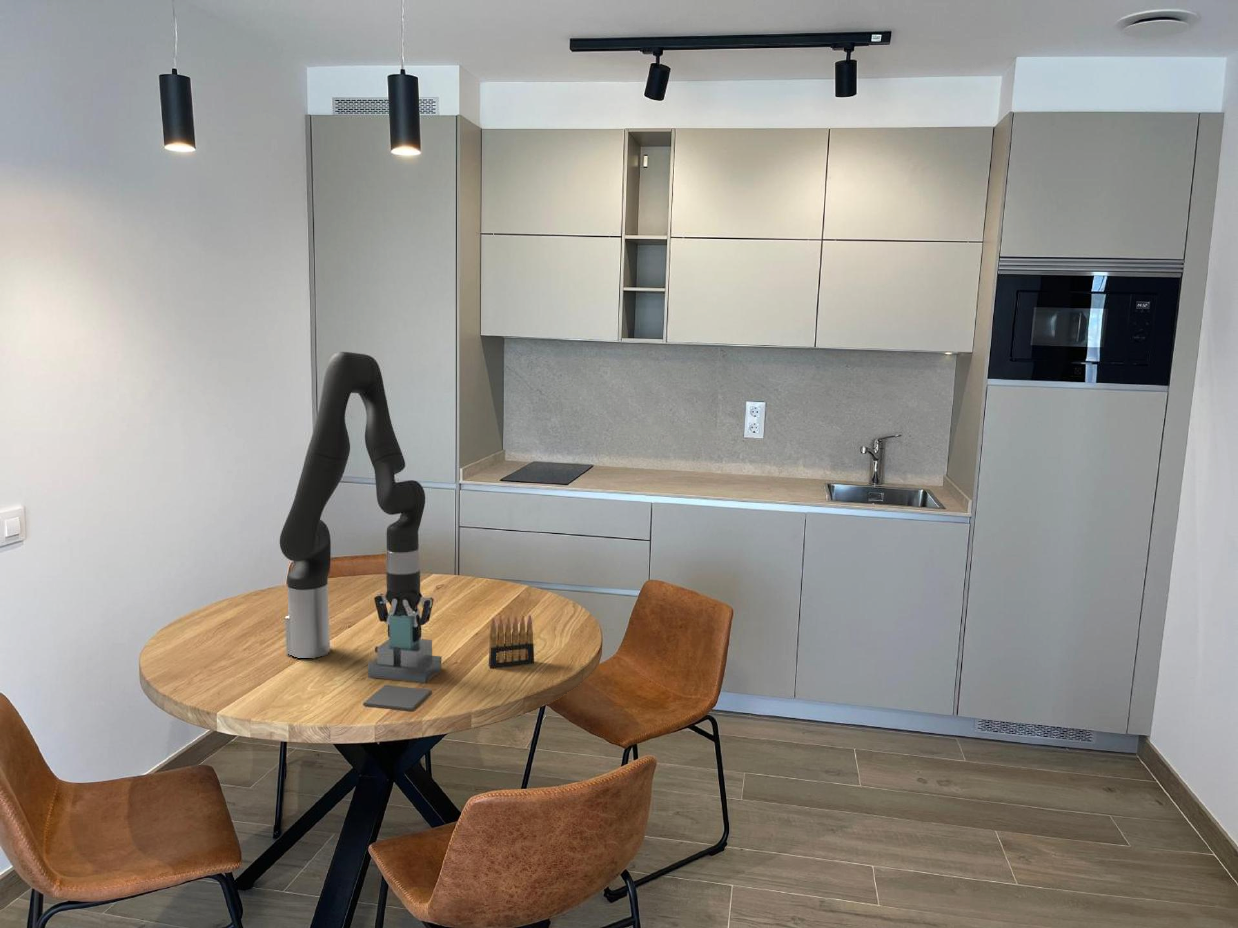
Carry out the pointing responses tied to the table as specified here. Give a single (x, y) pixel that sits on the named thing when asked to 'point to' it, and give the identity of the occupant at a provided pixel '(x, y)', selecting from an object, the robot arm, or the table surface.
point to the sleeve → (401, 631)
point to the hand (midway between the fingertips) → (404, 639)
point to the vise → (405, 662)
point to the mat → (397, 697)
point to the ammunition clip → (511, 644)
